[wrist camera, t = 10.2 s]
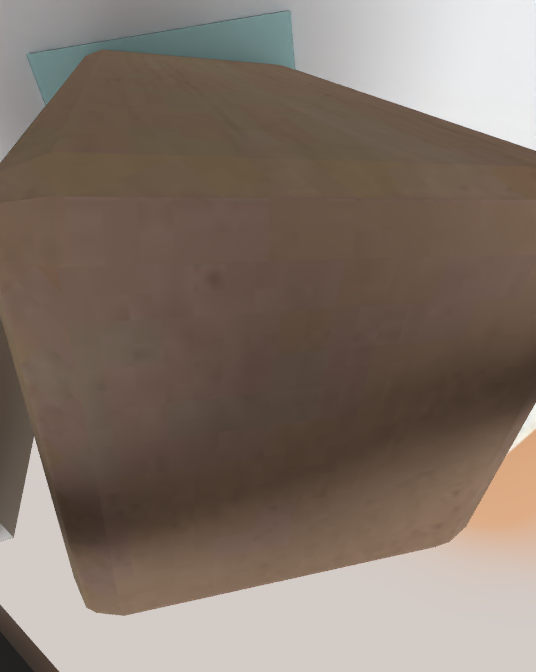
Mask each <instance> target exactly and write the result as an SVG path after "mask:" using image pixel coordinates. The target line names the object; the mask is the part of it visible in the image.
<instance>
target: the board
mask: <svg viewBox="0 0 536 672" xmlns="http://www.w3.org/2000/svg"><path fill="white" fill-rule="evenodd" d="M99 50H114V51H125V52H137V53H148V54H160V55H171V56H183V57H195V58H206V59H218V60H229V61H241V62H252V63H264V64H275V65H282V66H285V67H288V68H291V69H294V70H295V63H294V51H293V38H292V25H291V12H290V11H283V12H277V13H271V14H265V15H259V16H253V17H247V18H241V19H235V20H229V21H223V22H217V23H211V24H205V25H199V26H193V27H187V28H181V29H175V30H169V31H163V32H157V33H151V34H145V35H139V36H133V37H127V38H121V39H115V40H109V41H103V42H97V43H91V44H85V45H79V46H72V47H66V48H60V49H54V50H48V51H42V52H36V53H30V54H27V58H28V60H29V63H30V66H31V68H32V71H33V73H34V76H35V79H36V81H37V84H38V86H39V89H40V92H41V94H42V97H43V99H44V102H45V105H47V104H48V102H49V101H50V100H51V99H52V97H53V96H54V95H55V94H56V92H57V91H58V90H59V88H60V87H61V86H62V85H63V83H64V82H65V81H66V80H67V78H68V77H69V76H70V75H71V73H72V72H73V71H74V70H75V68H76V67H77V66H78V64H79V63H80V62H81V61H82V59H83V58H84V57H85V56H87V55H89V54H92V53H94V52H97V51H99Z"/></svg>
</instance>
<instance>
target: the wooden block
mask: <svg viewBox="0 0 536 672" xmlns="http://www.w3.org/2000/svg"><path fill="white" fill-rule="evenodd" d="M0 315H1V319H2V322H3V326H4V330H5V333H6V337H7V340H8V344H9V347H10V351H11V355H12V358H13V362H14V365H15V369H16V372H17V376H18V379H19V383H20V387H21V390H22V394H23V397H24V401H25V404H26V408H27V411H28V415H29V419H30V422H31V426H32V429H33V433H34V436H35V440H36V444H37V447H38V451H39V454H40V458H41V461H42V465H43V468H44V472H45V476H46V479H47V483H48V486H49V490H50V493H51V497H52V500H53V504H54V508H55V511H56V515H57V518H58V522H59V525H60V529H61V532H62V536H63V539H64V543H65V547H66V550H67V554H68V557H69V561H70V564H71V568H72V572H73V575H74V578H75V581H76V583H77V586H78V588H79V591H80V593H81V595H82V598H83V600H84V603H85V605H86V607H87V608H89V609H91V610H92V611H94V612H96V613H105V614H115V615H123V616H124V615H129V614H134V613H138V612H143V611H147V610H152V609H156V608H161V607H165V606H170V605H174V604H179V603H183V602H188V601H192V600H197V599H201V598H206V597H211V596H215V595H220V594H224V593H229V592H233V591H238V590H242V589H247V588H251V587H255V586H260V585H264V584H269V583H273V582H278V581H283V580H287V579H292V578H296V577H301V576H306V575H309V574H314V573H319V572H323V571H328V570H332V569H337V568H342V567H346V566H350V565H355V564H359V563H364V562H369V561H373V560H377V559H382V558H387V557H391V556H396V555H400V554H405V553H409V552H414V551H419V550H423V549H427V548H432V547H436V546H439V545H441V544H444V543H447V542H450V541H451V540H452V539H453V538H454V537H455V536H456V535H457V534H458V533H459V532H460V531H462V530H463V529H464V528H465V527H466V526H467V523H468V522H469V520H470V518H471V517H472V515H473V513H474V511H475V510H476V508H477V506H478V504H479V502H480V501H481V499H482V497H483V495H484V494H485V492H486V490H487V488H488V486H489V485H490V483H491V481H492V479H493V478H494V476H495V474H496V472H497V470H498V469H499V467H500V465H501V463H502V461H503V459H504V458H505V456H506V454H507V453H508V451H509V449H510V447H511V445H512V444H513V442H514V440H515V438H516V437H517V435H518V433H519V431H520V429H521V428H522V426H523V424H524V422H525V421H526V419H527V417H528V415H529V413H530V412H531V410H532V408H533V406H534V405H535V403H536V151H534V150H531V149H528V148H525V147H522V146H520V145H517V144H514V143H511V142H508V141H505V140H502V139H499V138H496V137H493V136H490V135H487V134H484V133H481V132H478V131H475V130H472V129H469V128H466V127H463V126H460V125H457V124H454V123H451V122H448V121H445V120H442V119H439V118H436V117H434V116H431V115H428V114H425V113H422V112H419V111H416V110H413V109H410V108H407V107H404V106H401V105H398V104H395V103H392V102H389V101H386V100H383V99H380V98H377V97H374V96H371V95H368V94H365V93H362V92H359V91H356V90H353V89H351V88H348V87H345V86H342V85H339V84H336V83H333V82H330V81H327V80H324V79H321V78H318V77H315V76H312V75H309V74H306V73H303V72H300V71H297V70H294V69H291V68H288V67H285V66H282V65H275V64H264V63H252V62H241V61H229V60H218V59H206V58H195V57H183V56H171V55H160V54H148V53H137V52H125V51H114V50H99V51H97V52H94V53H92V54H89V55H87V56H85V57H84V58H83V59H82V61H81V62H80V63H79V64H78V66H77V67H76V68H75V70H74V71H73V72H72V73H71V75H70V76H69V77H68V78H67V80H66V81H65V82H64V83H63V85H62V86H61V87H60V88H59V90H58V91H57V92H56V94H55V95H54V96H53V97H52V99H51V100H50V101H49V102H48V104H47V105H46V106H45V107H44V109H43V110H42V111H41V112H40V114H39V115H38V116H37V118H36V119H35V120H34V121H33V123H32V124H31V125H30V126H29V128H28V129H27V130H26V131H25V133H24V134H23V135H22V136H21V138H20V139H19V140H18V142H17V143H16V144H15V145H14V147H13V148H12V149H11V150H10V152H9V153H8V154H7V155H6V157H5V158H4V159H3V160H2V162H1V163H0Z"/></svg>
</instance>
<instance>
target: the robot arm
mask: <svg viewBox="0 0 536 672" xmlns="http://www.w3.org/2000/svg"><path fill="white" fill-rule="evenodd" d="M33 438H34V433H33V429H32V426H31V422H30V419H29V415H28V411H27V408H26V404H25V401H24V397H23V394H22V390H21V387H20V383H19V379H18V376H17V372H16V369H15V365H14V362H13V358H12V355H11V351H10V347H9V344H8V340H7V337H6V333H5V330H4V326H3V322H2V319H1V315H0V542H1V541H4V540H7V539H11V538H14V533H15V528H16V523H17V518H18V513H19V508H20V503H21V498H22V493H23V488H24V483H25V478H26V473H27V468H28V463H29V458H30V453H31V448H32V443H33ZM0 672H59V671H58V670H57V669H56V668H55V667H54V665H53V664H52V663H51V662H50V661H49V660H48V659H47V657H46V656H45V655H44V654H43V653H42V652H41V651H40V650H39V648H38V647H37V646H36V645H35V644H34V643H33V642H32V641H31V639H30V638H29V637H28V636H27V635H26V634H25V632H23V630H22V629H21V628H20V627H19V626H18V625H17V624H16V622H15V621H14V620H13V619H12V618H11V616H9V614H8V613H7V612H6V611H5V610H4V609H3V607H2V606H1V605H0Z"/></svg>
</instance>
